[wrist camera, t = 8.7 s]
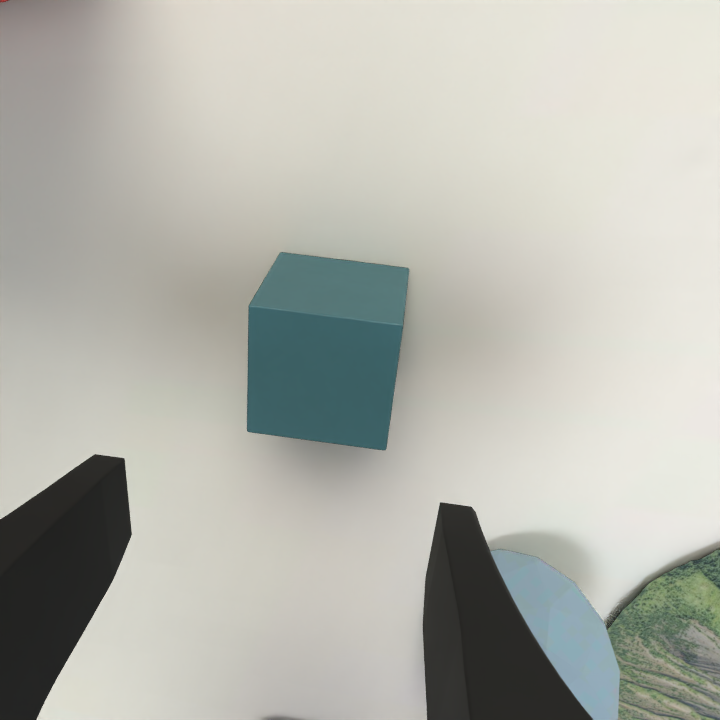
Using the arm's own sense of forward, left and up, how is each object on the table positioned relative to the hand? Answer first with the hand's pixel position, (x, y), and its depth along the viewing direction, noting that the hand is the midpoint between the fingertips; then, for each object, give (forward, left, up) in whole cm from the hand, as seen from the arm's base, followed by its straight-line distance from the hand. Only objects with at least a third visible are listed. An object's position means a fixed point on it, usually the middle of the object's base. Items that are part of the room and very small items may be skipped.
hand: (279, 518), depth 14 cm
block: (0, 0, -9) cm, 9 cm away
